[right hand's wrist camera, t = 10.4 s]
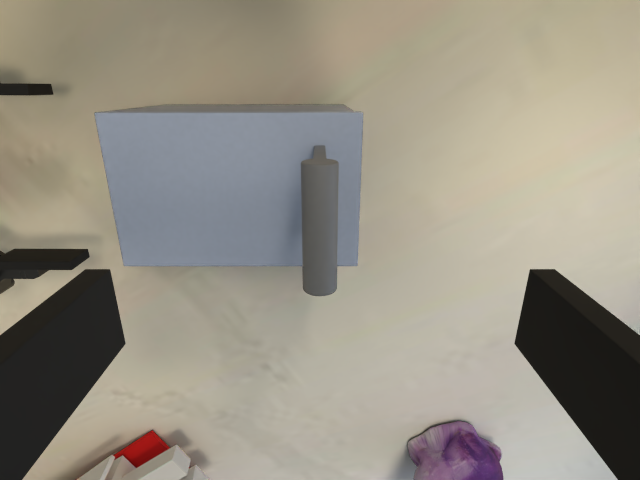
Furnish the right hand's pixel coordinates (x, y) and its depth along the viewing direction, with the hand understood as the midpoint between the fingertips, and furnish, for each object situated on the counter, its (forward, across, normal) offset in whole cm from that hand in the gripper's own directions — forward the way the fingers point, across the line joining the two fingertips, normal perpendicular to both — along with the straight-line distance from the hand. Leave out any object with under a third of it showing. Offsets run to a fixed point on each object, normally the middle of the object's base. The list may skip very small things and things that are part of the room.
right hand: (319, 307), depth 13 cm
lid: (+15, -5, 0) cm, 16 cm away
